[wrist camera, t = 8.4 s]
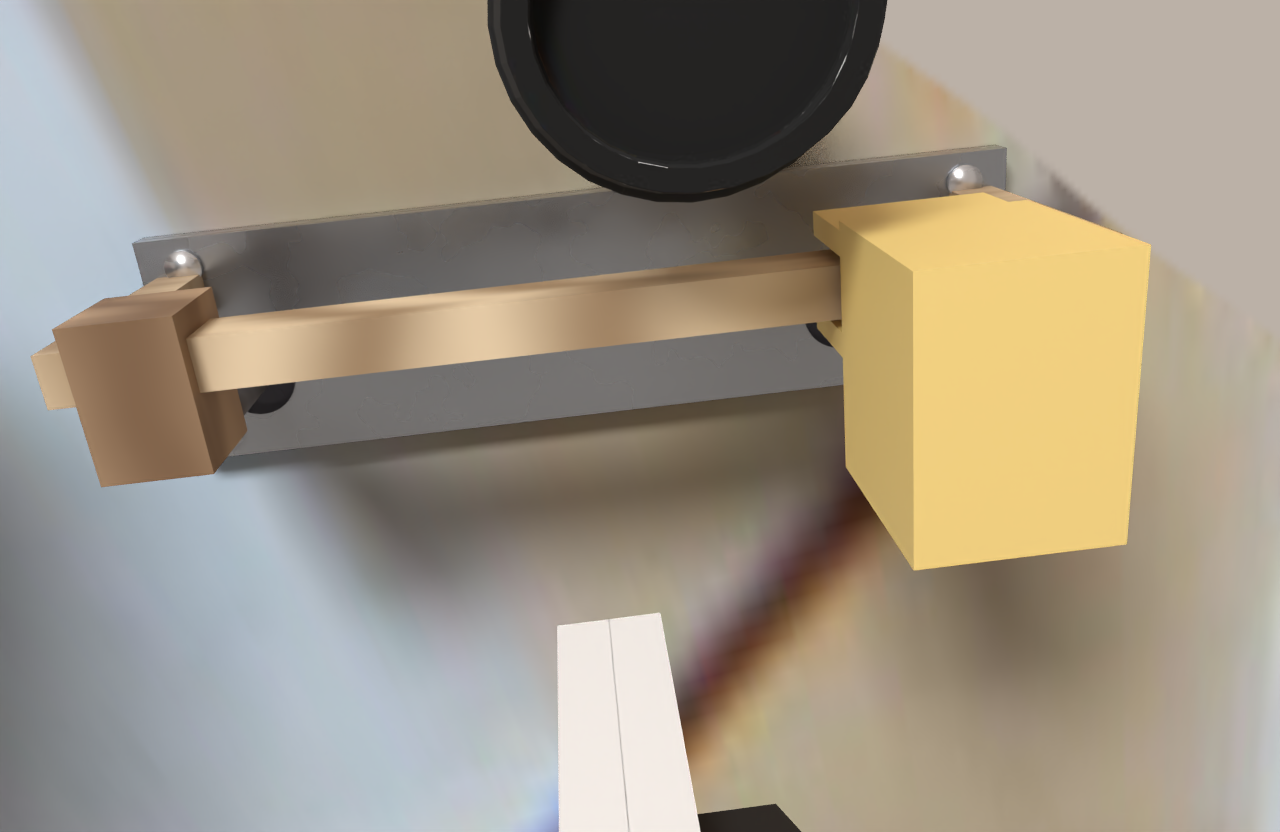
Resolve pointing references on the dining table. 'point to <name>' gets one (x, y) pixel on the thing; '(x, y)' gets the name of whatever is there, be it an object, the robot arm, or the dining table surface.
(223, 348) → the bar
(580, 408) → the hole plate
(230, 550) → the dining table surface
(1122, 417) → the slider head
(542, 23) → the coffee cup
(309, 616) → the dining table surface
